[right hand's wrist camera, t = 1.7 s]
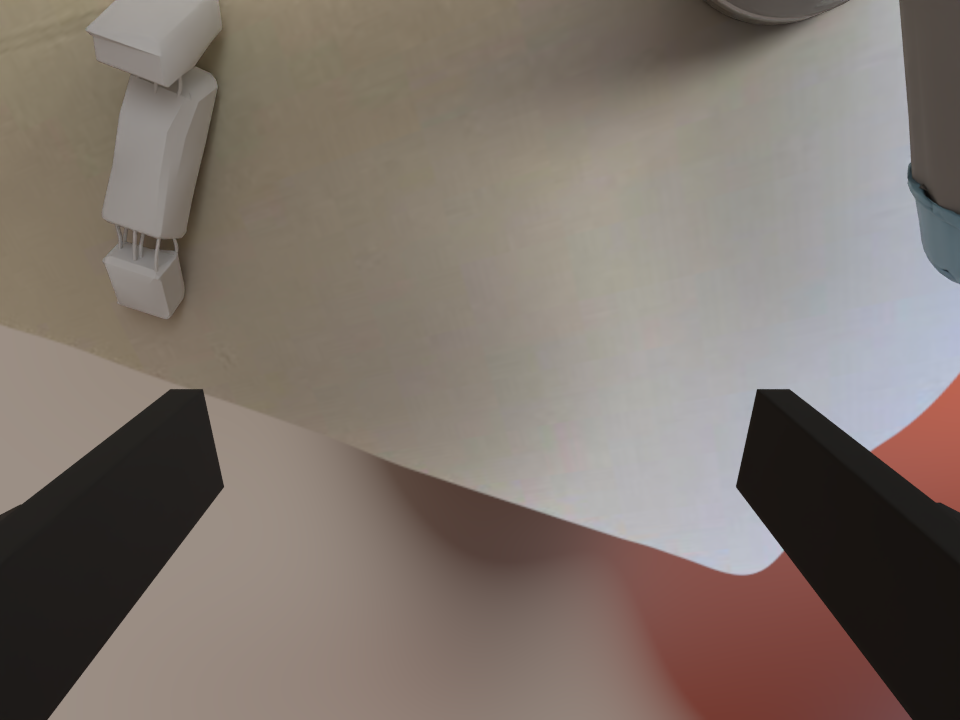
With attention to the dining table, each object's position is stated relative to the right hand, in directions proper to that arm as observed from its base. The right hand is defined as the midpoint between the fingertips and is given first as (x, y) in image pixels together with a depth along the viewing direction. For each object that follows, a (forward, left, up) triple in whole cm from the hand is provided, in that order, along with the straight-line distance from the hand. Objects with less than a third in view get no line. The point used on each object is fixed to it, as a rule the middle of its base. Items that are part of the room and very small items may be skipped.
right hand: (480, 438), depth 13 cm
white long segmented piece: (0, -20, -25) cm, 32 cm away
